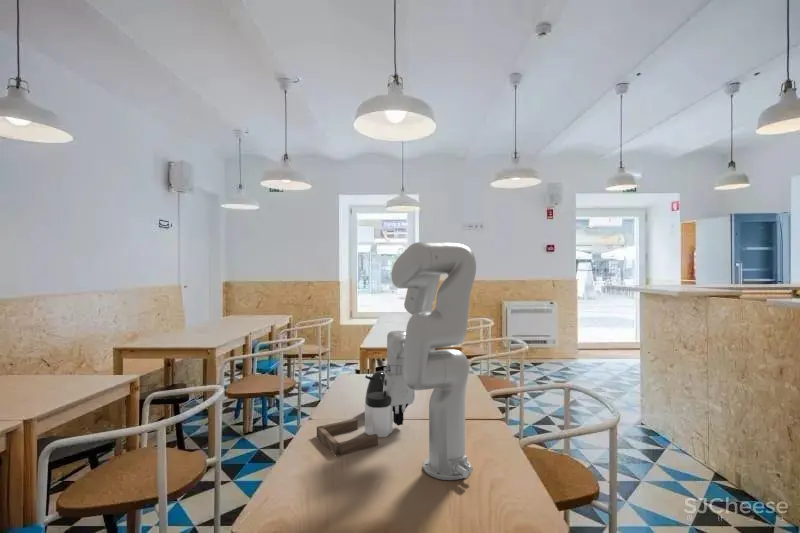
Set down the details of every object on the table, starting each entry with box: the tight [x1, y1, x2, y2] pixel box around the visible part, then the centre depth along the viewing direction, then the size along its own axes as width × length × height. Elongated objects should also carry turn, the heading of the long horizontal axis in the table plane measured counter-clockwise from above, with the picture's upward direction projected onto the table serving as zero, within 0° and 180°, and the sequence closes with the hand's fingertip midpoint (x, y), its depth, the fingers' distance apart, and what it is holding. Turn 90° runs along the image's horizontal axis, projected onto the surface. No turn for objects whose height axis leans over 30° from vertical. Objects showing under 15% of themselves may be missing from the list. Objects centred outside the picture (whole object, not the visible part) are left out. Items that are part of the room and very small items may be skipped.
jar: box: [364, 392, 394, 438], centre depth 133 cm, size 9×8×12 cm
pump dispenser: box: [364, 370, 386, 405], centre depth 151 cm, size 10×10×15 cm
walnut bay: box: [316, 418, 379, 457], centre depth 127 cm, size 16×14×3 cm
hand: (398, 423), depth 137 cm, fingers closed
